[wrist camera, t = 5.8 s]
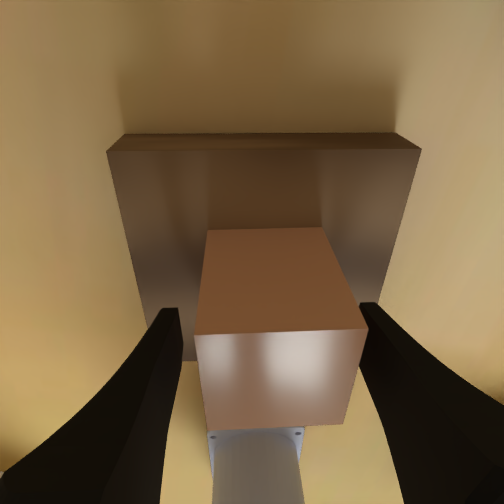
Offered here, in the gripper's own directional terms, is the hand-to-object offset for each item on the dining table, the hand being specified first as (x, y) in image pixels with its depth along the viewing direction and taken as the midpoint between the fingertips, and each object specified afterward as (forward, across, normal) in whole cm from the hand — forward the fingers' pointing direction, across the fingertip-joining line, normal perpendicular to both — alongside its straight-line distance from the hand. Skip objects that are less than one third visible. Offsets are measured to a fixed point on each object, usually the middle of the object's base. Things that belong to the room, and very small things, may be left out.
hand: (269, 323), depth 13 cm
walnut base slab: (+6, 0, 0) cm, 6 cm away
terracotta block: (+3, 0, 0) cm, 3 cm away
